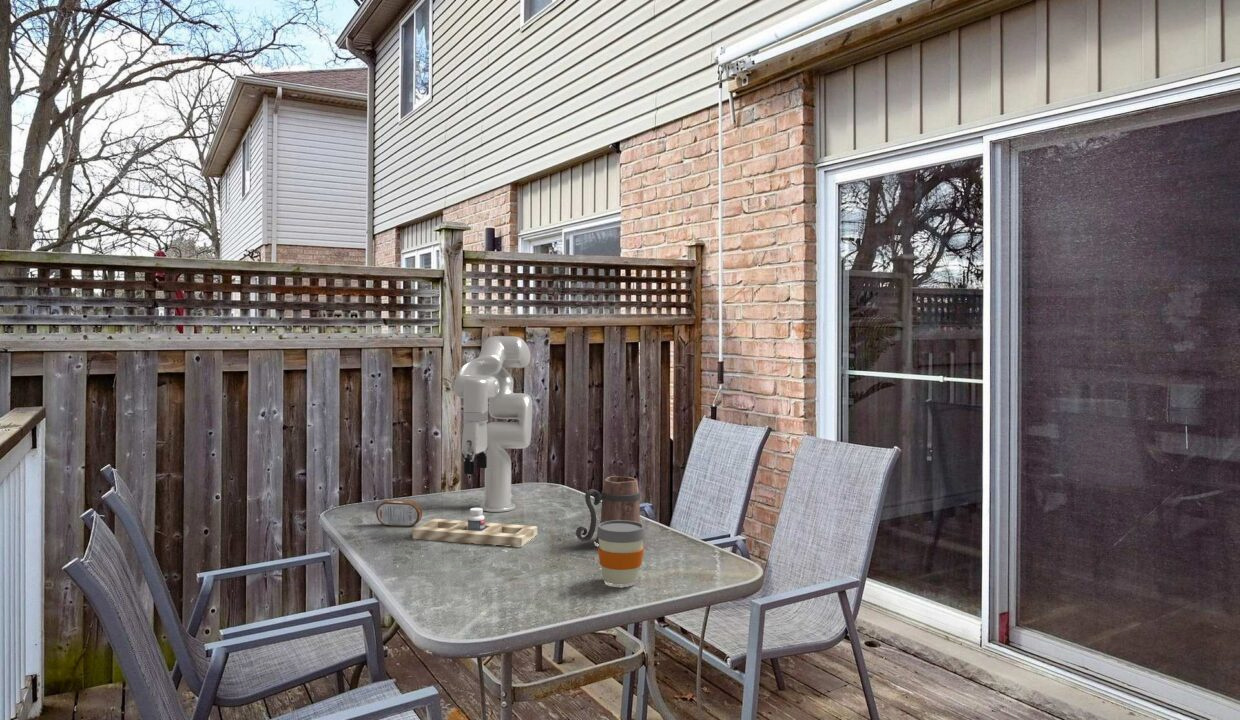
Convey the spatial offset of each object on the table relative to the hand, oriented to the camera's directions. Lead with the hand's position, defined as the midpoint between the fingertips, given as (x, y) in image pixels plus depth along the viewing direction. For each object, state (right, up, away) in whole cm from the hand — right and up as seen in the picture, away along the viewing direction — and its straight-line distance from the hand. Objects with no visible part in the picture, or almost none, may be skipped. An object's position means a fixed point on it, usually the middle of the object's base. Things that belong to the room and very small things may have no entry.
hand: (475, 470), depth 248 cm
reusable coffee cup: (+46, -24, -43) cm, 67 cm away
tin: (-28, -20, +12) cm, 36 cm away
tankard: (+43, -22, -7) cm, 49 cm away
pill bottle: (0, -21, -1) cm, 21 cm away
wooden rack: (0, -21, -1) cm, 21 cm away
